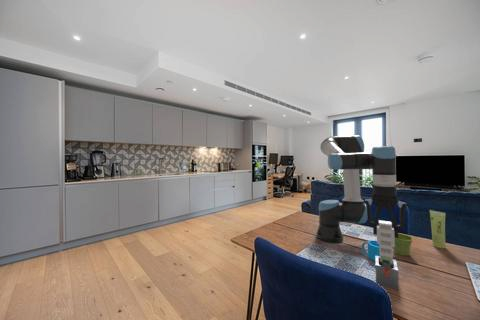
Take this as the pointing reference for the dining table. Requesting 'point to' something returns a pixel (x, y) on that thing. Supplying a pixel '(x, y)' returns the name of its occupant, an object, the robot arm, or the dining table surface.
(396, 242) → the plant pot
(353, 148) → the robot arm
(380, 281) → the stand
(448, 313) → the dining table surface
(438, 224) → the tube
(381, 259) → the column
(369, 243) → the mug
